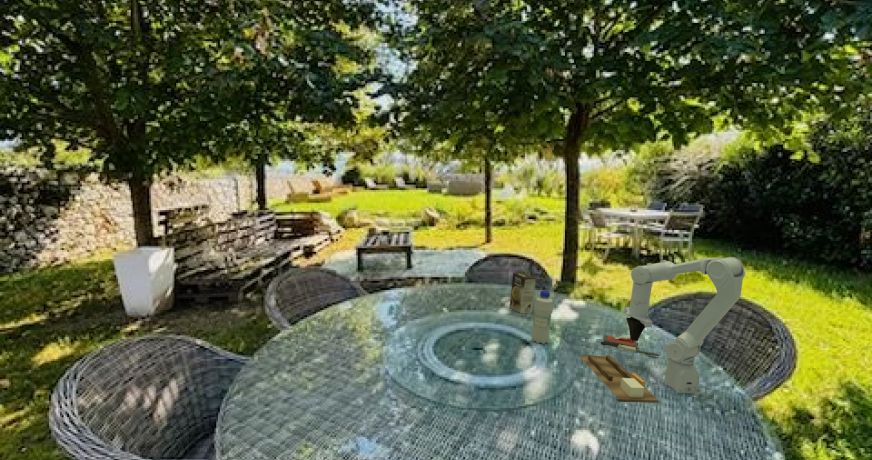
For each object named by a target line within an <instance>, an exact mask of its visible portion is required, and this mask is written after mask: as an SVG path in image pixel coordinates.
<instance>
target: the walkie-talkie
mask: <svg viewBox="0 0 872 460" xmlns="http://www.w3.org/2000/svg"><path fill="white" fill-rule="evenodd" d="M600 345H601V346H608V347H614V348H618V349H620V350H623V351H627V352H630V353H631V352H632V353H639V354H644V355H647V356H654V357H655V356H657V357H659V356H660V354H659V353H657V352H656V353H655V352H649V351H644V350H640V349H639V342H637V341H632V340H631V339H630V336H627V335H620V336H616V335H615V334H613V335H607V334H604V338H603V341H601V342H600Z"/></svg>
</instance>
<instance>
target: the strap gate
mask: <svg viewBox="0 0 872 460" xmlns="http://www.w3.org/2000/svg"><path fill="white" fill-rule="evenodd" d="M630 374H631V377H630V378H634V379H635V380H636V381H637V382H639V383H640V384H641V385H642V386H643V387H645V385H646V381H645V380H644V379H643V378H641V377H640V376H639V375H638V374H637V373H635V372H630Z"/></svg>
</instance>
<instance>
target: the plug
mask: <svg viewBox="0 0 872 460" xmlns="http://www.w3.org/2000/svg"><path fill="white" fill-rule="evenodd" d="M644 387H645V386H644ZM644 387H643V386H642V385H641V384H640V383H639V382H637V381H636V380H635V379H634V378H621V385H620V388H621V389H622V390H623V391H624V392H625V393H626V394H627V395H628V396H629V397H641V398H643V394H644Z"/></svg>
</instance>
